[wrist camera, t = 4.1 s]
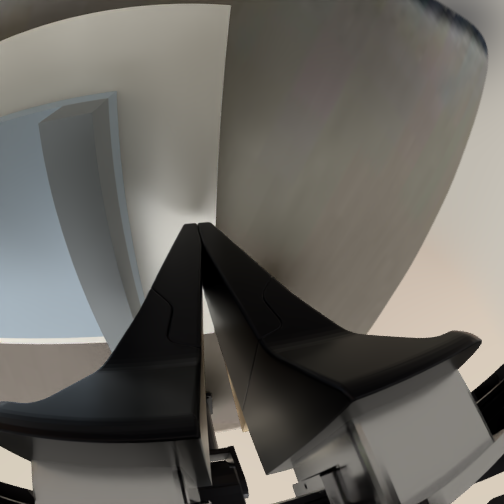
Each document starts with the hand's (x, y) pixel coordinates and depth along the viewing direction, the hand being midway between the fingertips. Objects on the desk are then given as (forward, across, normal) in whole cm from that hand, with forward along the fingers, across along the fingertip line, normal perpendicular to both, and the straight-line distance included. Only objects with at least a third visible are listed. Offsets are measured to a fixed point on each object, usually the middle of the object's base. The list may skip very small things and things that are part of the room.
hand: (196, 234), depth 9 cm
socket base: (+5, +10, 0) cm, 11 cm away
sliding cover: (+1, +6, 0) cm, 6 cm away
